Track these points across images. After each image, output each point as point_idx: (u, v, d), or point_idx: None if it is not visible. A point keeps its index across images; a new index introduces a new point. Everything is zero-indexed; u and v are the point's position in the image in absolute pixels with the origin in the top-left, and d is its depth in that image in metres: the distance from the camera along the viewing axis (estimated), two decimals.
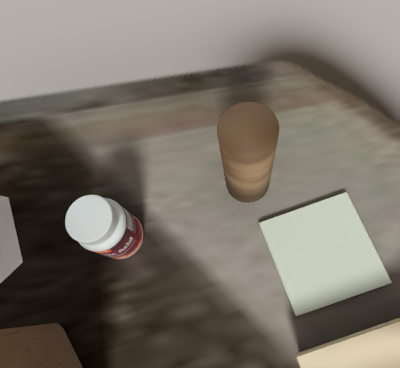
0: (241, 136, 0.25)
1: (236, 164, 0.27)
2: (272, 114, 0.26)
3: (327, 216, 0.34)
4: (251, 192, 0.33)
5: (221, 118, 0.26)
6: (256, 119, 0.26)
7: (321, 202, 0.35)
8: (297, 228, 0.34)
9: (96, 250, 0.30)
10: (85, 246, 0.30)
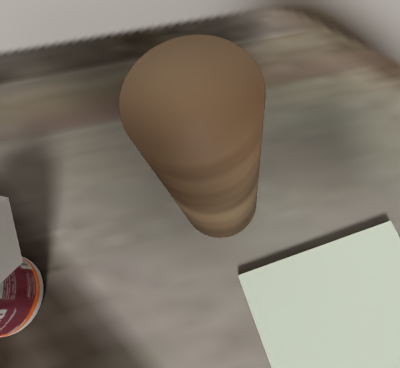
0: (174, 114, 0.10)
1: (172, 180, 0.12)
2: (250, 61, 0.11)
3: (358, 265, 0.19)
4: (221, 225, 0.18)
5: (131, 73, 0.11)
6: (212, 73, 0.11)
7: (346, 239, 0.20)
8: (306, 287, 0.19)
9: None
10: None
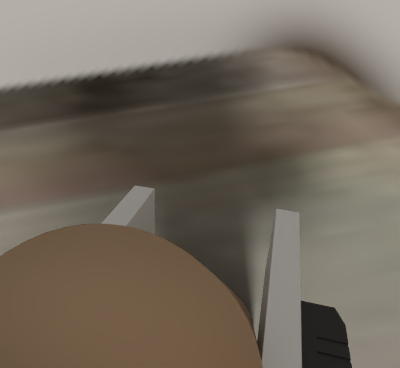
0: None
1: None
2: (231, 318, 0.04)
3: None
4: None
5: None
6: (136, 347, 0.04)
7: None
8: None
9: None
10: None
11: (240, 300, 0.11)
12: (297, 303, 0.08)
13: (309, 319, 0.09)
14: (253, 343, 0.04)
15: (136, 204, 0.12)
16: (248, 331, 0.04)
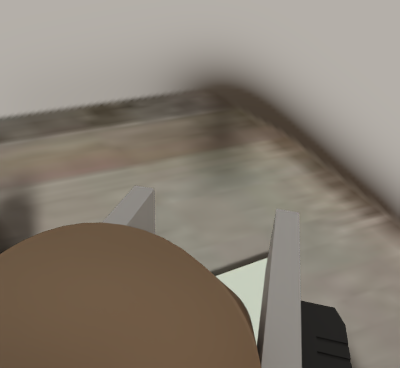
0: None
1: None
2: (229, 318, 0.04)
3: (244, 288, 0.28)
4: None
5: None
6: (135, 346, 0.04)
7: (238, 270, 0.28)
8: None
9: None
10: None
11: None
12: (297, 303, 0.08)
13: (309, 319, 0.09)
14: (251, 342, 0.04)
15: (136, 204, 0.12)
16: (246, 330, 0.04)
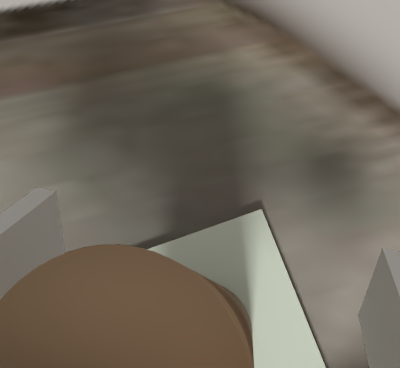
0: None
1: None
2: (224, 326, 0.05)
3: (220, 258, 0.17)
4: None
5: None
6: (146, 349, 0.05)
7: (212, 229, 0.18)
8: None
9: None
10: None
11: (238, 302, 0.12)
12: None
13: None
14: (242, 346, 0.05)
15: (28, 208, 0.11)
16: (238, 336, 0.05)
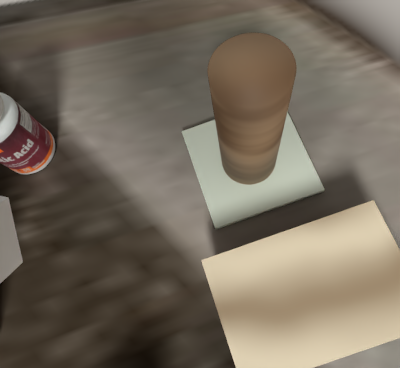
0: (242, 79, 0.18)
1: (235, 123, 0.19)
2: (286, 49, 0.18)
3: None
4: (254, 169, 0.25)
5: (214, 55, 0.18)
6: (264, 56, 0.18)
7: None
8: None
9: None
10: None
11: None
12: None
13: None
14: (292, 53, 0.18)
15: None
16: (290, 50, 0.18)
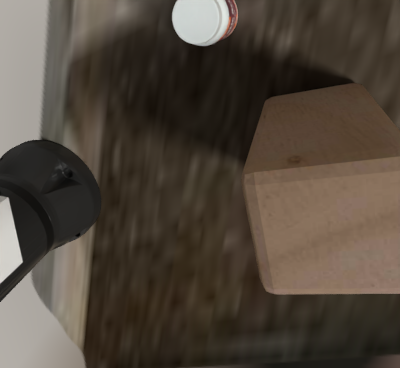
0: None
1: None
2: None
3: None
4: None
5: None
6: None
7: None
8: None
9: (225, 28, 0.31)
10: (217, 37, 0.31)
11: None
12: None
13: None
14: None
15: None
16: None
